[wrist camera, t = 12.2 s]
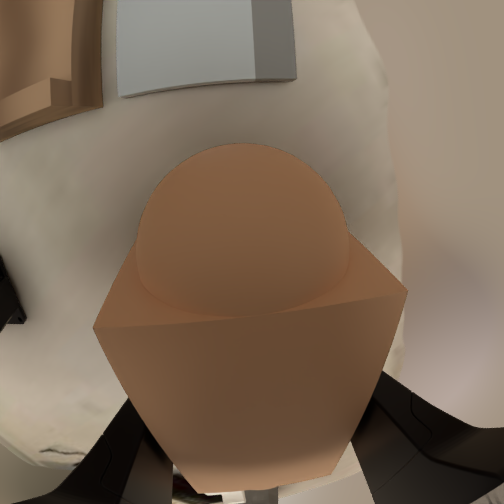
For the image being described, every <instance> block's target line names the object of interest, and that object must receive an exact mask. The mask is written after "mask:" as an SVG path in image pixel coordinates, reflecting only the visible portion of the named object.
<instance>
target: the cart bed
mask: <svg viewBox="0 0 504 504" xmlns="http://www.w3.org/2000/svg"><path fill="white" fill-rule="evenodd" d="M102 6H103V0H0V142H2V141H4V140H6V139H9V138H11V137H13V136H16V135H18V134H21V133H23V132H26V131H28V130H31V129H34V128H36V127H39V126H42V125H44V124H47V123H50V122H53V121H56V120H59V119H62V118H65V117H69V116H72V115H75V114H79V113H82V112H86V111H89V110H93V109H97V108H101V107H103V99H102V81H101V23H102Z"/></svg>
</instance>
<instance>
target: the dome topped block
mask: <svg viewBox="0 0 504 504" xmlns="http://www.w3.org/2000/svg"><path fill="white" fill-rule="evenodd" d="M407 292H408V290H407V289H406V288H405V287H404V286H403V285H402V284H401V283H400V282H399V281H398V280H397V278H396V277H395V276H394V275H393V274H392V273H391V272H390V271H389V270H388V269H387V268H386V267H385V266H384V265H383V264H382V263H381V262H380V261H379V260H378V259H377V258H376V257H374V256H373V255H372V254H371V253H370V252H369V251H368V250H367V249H366V248H365V247H364V246H363V245H362V244H361V243H360V242H359V241H358V240H357V239H356V238H355V237H354V236H353V235H351V234H350V233H349V232H348V230H347V226H346V222H345V218H344V214H343V212H342V209H341V207H340V205H339V202H338V201H337V199H336V197H335V196H334V194H333V192H332V191H331V189H330V188H329V186H328V185H327V184H326V182H325V181H324V180H323V179H322V178H321V177H320V176H319V175H318V174H317V173H316V172H315V171H314V170H313V169H312V168H310V167H309V166H308V165H307V164H305V163H304V162H302V161H301V160H299V159H298V158H296V157H295V156H293V155H291V154H288V153H286V152H284V151H282V150H279V149H276V148H272V147H269V146H265V145H258V144H250V143H234V144H227V145H220V146H217V147H213V148H210V149H206V150H204V151H202V152H200V153H197V154H195V155H193V156H191V157H190V158H188V159H187V160H185V161H183V162H182V163H180V164H179V165H178V166H176V167H175V168H174V169H173V170H172V171H171V172H169V173H168V174H167V175H166V176H165V177H164V179H163V180H162V181H161V182H160V183H159V184H158V186H157V187H156V189H155V190H154V192H153V193H152V195H151V196H150V198H149V200H148V202H147V205H146V207H145V209H144V211H143V213H142V216H141V220H140V223H139V227H138V233H137V239H136V241H135V243H134V244H133V246H132V248H131V250H130V252H129V254H128V256H127V257H126V259H125V261H124V263H123V265H122V267H121V269H120V271H119V273H118V275H117V277H116V279H115V281H114V283H113V285H112V287H111V289H110V291H109V293H108V295H107V297H106V299H105V301H104V304H103V306H102V308H101V310H100V312H99V314H98V317H97V319H96V321H95V323H94V326H93V330H94V332H95V334H96V336H97V338H98V340H99V343H100V345H101V347H102V349H103V351H104V353H105V355H106V357H107V359H108V361H109V363H110V365H111V367H112V369H113V370H114V372H115V374H116V376H117V378H118V380H119V381H120V383H121V385H122V387H123V389H124V390H125V392H126V394H127V395H128V397H129V399H130V401H131V402H132V404H133V405H134V407H135V409H136V410H137V412H138V414H139V415H140V417H141V418H142V420H143V421H144V423H145V424H146V426H147V427H148V429H149V430H150V432H151V433H152V435H153V436H154V438H155V439H156V441H157V442H158V443H159V445H160V446H161V448H162V449H163V450H164V452H165V453H166V454H167V456H168V457H169V458H170V460H171V461H172V462H173V464H174V465H175V466H176V467H177V469H178V470H179V471H180V472H181V474H182V475H183V476H184V477H185V478H186V480H187V481H188V482H189V483H190V484H191V486H192V487H193V488H194V489H195V490H196V491H197V493H219V492H233V491H244V490H266V489H271V488H275V487H277V486H281V485H286V484H292V483H297V482H302V481H306V480H311V479H315V478H319V477H323V476H327V475H331V474H332V472H333V470H334V469H335V467H336V465H337V463H338V462H339V460H340V458H341V456H342V455H343V453H344V451H345V449H346V447H347V445H348V444H349V442H350V440H351V438H352V436H353V434H354V432H355V430H356V428H357V426H358V424H359V422H360V420H361V418H362V416H363V414H364V411H365V409H366V407H367V405H368V403H369V400H370V398H371V396H372V394H373V391H374V389H375V387H376V384H377V382H378V379H379V377H380V374H381V372H382V369H383V367H384V364H385V361H386V359H387V356H388V353H389V351H390V348H391V345H392V342H393V339H394V336H395V333H396V330H397V327H398V324H399V321H400V317H401V314H402V311H403V307H404V304H405V300H406V297H407Z"/></svg>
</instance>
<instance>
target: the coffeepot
mask: <svg viewBox="0 0 504 504" xmlns="http://www.w3.org/2000/svg"><path fill="white" fill-rule="evenodd" d="M244 493H245V499H246V503H238V504H278V486H277V487H275V488H271V489H266V490H244Z"/></svg>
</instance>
